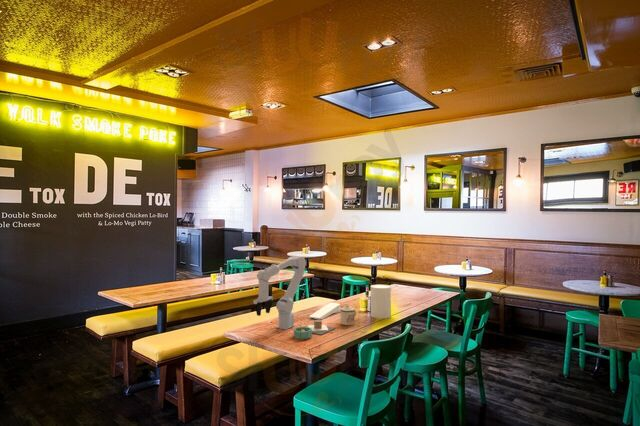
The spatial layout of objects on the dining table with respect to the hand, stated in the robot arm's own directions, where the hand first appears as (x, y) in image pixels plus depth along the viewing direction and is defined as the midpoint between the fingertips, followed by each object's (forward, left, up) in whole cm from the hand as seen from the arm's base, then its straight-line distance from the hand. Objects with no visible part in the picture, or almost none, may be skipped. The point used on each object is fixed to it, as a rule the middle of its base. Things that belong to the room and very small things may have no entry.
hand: (263, 314), depth 226 cm
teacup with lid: (-44, +32, -11) cm, 56 cm away
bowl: (-6, +24, -10) cm, 27 cm away
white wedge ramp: (-53, +9, -11) cm, 55 cm away
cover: (-21, +24, -10) cm, 34 cm away
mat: (-21, +24, -10) cm, 34 cm away
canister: (-71, +41, -11) cm, 83 cm away
